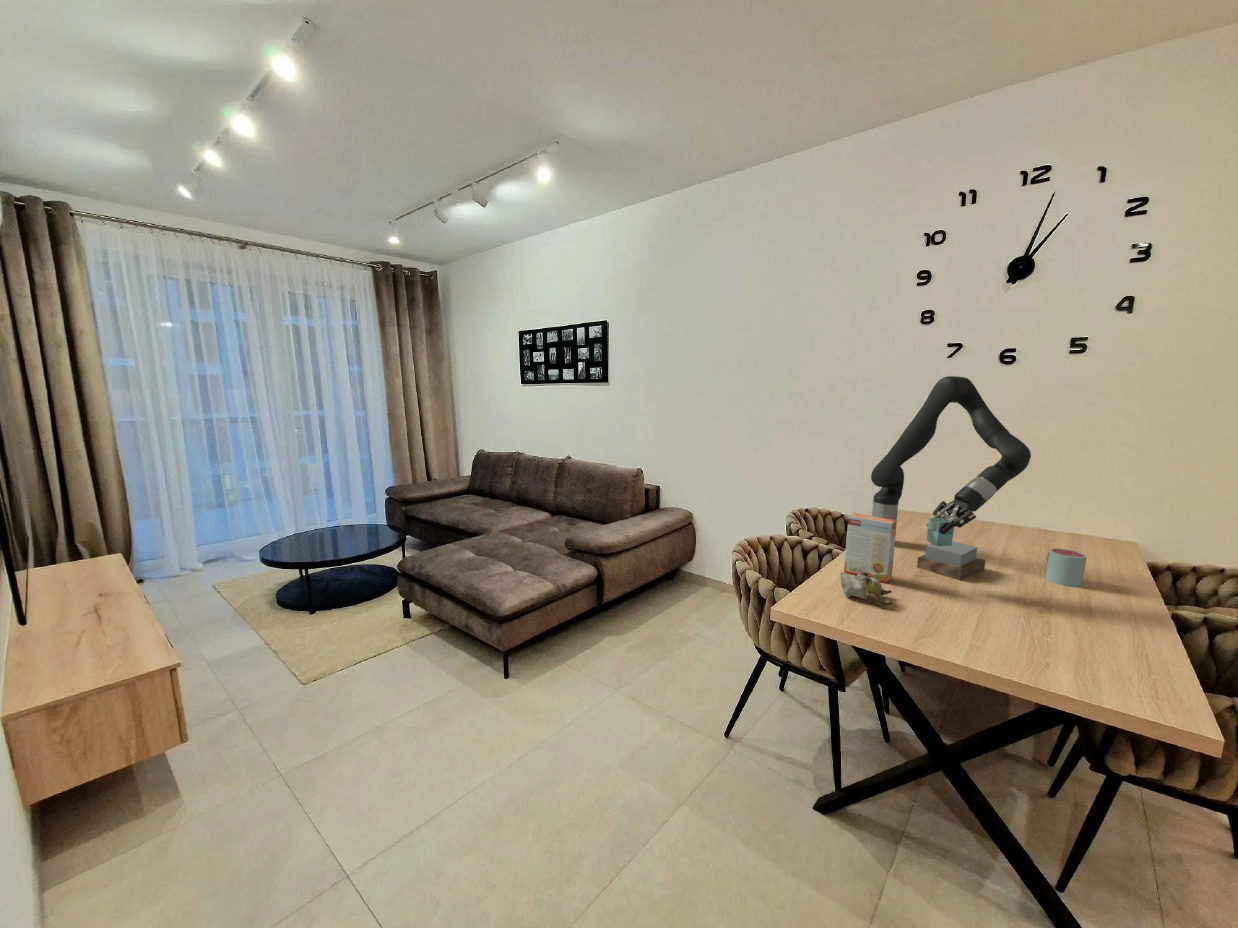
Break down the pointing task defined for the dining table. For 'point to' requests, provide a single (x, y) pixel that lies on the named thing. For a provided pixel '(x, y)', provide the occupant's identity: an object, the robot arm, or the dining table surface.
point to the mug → (1065, 567)
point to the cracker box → (870, 546)
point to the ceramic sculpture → (864, 588)
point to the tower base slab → (951, 568)
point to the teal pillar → (935, 535)
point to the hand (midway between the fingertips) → (935, 529)
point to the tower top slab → (952, 553)
